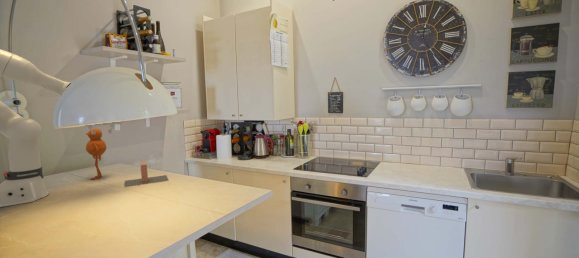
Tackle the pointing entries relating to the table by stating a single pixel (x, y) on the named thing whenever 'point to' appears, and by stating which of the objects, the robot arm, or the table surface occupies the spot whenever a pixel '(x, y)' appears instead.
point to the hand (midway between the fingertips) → (102, 133)
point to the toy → (96, 148)
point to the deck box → (144, 172)
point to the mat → (150, 180)
